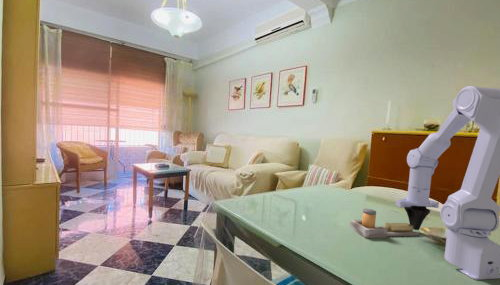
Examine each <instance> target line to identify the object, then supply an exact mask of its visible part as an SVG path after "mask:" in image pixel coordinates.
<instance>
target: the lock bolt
mask: <svg viewBox="0 0 500 285" xmlns="http://www.w3.org/2000/svg"><path fill="white" fill-rule="evenodd" d="M384 225H385V226H384V227H385V228H386V229H387V230H388V231H387V232H414V229H413V226H412V225H410V223H408V222H385V224H384Z"/></svg>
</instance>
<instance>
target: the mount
mask: <svg viewBox="0 0 500 285" xmlns="http://www.w3.org/2000/svg"><path fill="white" fill-rule="evenodd" d="M349 228H350V230H352V231H353V232H355V233H357V234H358V235H360V236H361V237H363V238H364V239H387V238H388V239H390V238H391V239H393V238H395V239H397V237H399V238H406V239H407V238H419V237H420V238H423V235H420V233H419V232H418V231H413V232H387V231H388V230H387V229H386V228H385V226H375V228H366V227H364V226H362V219H360V220H359V219H351V220H350V221H349Z"/></svg>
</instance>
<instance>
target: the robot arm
mask: <svg viewBox="0 0 500 285" xmlns="http://www.w3.org/2000/svg"><path fill="white" fill-rule="evenodd" d="M452 108H453V109H452V111H451V112H449V115H448V116H447V118H446V119H445V120H444V122H443V123H442V125H441V126H440V127H439V129H438V130H437V132H432V133H430V134H428V136H427V137H426V138H425V140H424V141H422V143H421V145H420V146H419V147H418V148H417V147H416V148H414V149H411V150H409V152H408V153H407V156H406V163H407V165H408V167H409V178H408V185H407V186H408V188H407V196H406V197H405V198H403V199H395V206H396V207H398V208H404V210H405V212H406V215H407V217H408V222H409V224H410V225H412V226H413V231H414V230H415V231H419V230H420V229H421V226H422V224H423V222H424V220H425V218H427V217H428V215H429V214H430V213H431V209H429V208H434V209H439V206H440V205H439V204H440V202H438V201H436V200H432V199H431V200H430V195H431V194H430V192H431V184H432V176H433V175H434V173H435V169H436V168H437V167H438V164H439V160H438V159H439V158H440V157H441V156H442V154H443V153H444V152H446V150H448V149H449V148H450V146H451V143H452V142H451V139H452V138H453V137H454V136H455V135H456V134H457V133H458V132H459V131H461V129H463V128H464V127H465V126H467V124H468V123H469V122H471V121H472V122H474V123H475V124H476V125H477V126H478V128H479V130H478V134H477V138H476V140H475V144H474V147H473V149H472V153H471V155H470V159H469V163H468V166H467V169H466V172H465V175H464V177H463V181H462V184H461V187H460V188H459V190H457V191H455V192H454V193H451V194H449V195H448V197H447V199H446V201H445V203H443V204H442V205H441V208H440V212H439V213H440V219H441V221H442V223H443V224H444V227H446V228H447V229H446V230H447V231H446V239H445V248H444V256H443V257H444V259H445V260H446V261H447V262H448V263H450V264H452V265H453V266H455V267H458V268H455V270H456V271H458V272H460V273H462V274H464V275H465V276H467V277H469V278H470V279H473V280H475V281H476V280H477V281H479V280H492V279H493V280H494V279H500V244H499V243H498V242H495V241H494V240H492V239H490V238H489V237H491V235H492V234H491V233H492V232H495V231H496V230H497V229H498V228H499V226H500V205H499V204H498V203H497V202H496V201H494V200H493V194H494V191H495V189H496V185H497V183H498V181H499V178H500V87H499V88H498V87H496V88H495V87H483V86H475V85H469V86H468V85H467V86H465V87H462V89H460V91H459V92H458V93H457V95H456V97H455V98H454V99H453V100H452Z"/></svg>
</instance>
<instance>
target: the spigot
mask: <svg viewBox="0 0 500 285" xmlns="http://www.w3.org/2000/svg"><path fill="white" fill-rule="evenodd" d="M376 217H377V211H376V210H374V209H371V208H363V210H362V217H361V218H362V219H361V220H362V226H364V227H366V228H375V227H376Z"/></svg>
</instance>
